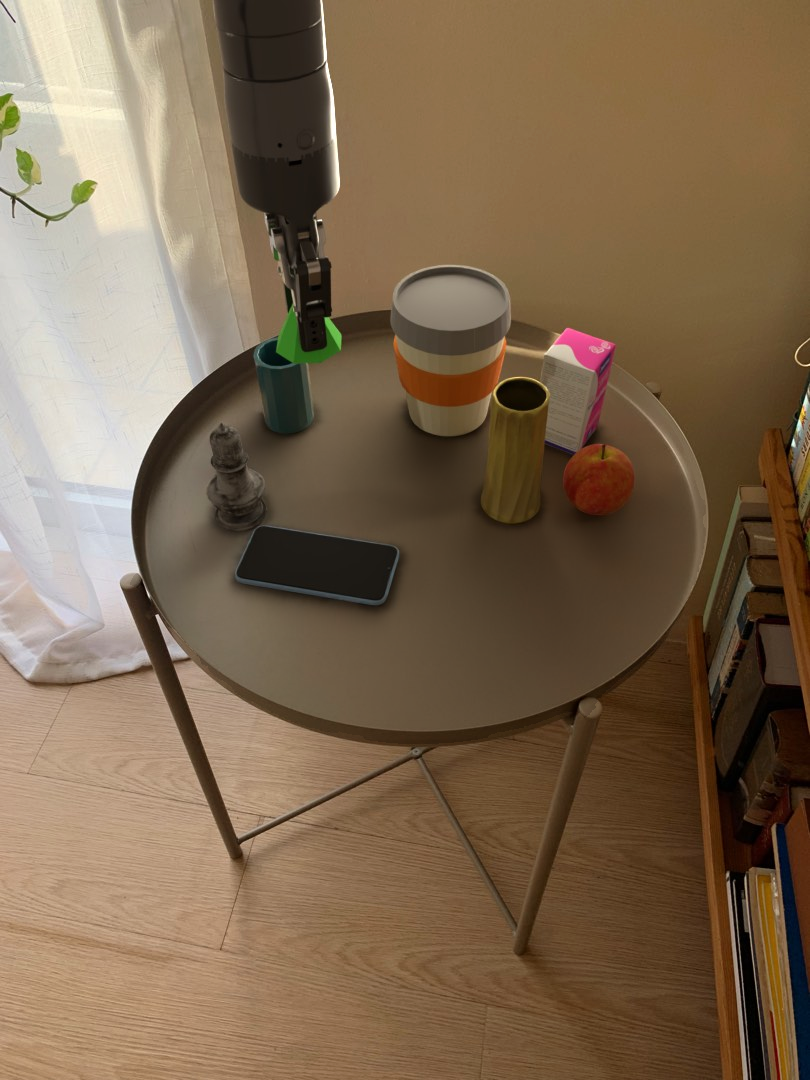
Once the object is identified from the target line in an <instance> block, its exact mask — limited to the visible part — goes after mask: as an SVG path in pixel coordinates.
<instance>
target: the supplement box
mask: <svg viewBox="0 0 810 1080" xmlns="http://www.w3.org/2000/svg"><path fill="white" fill-rule="evenodd" d="M616 348H617V345H616V344H615V343H614V342H611V341H610V342H609V341H608V340H603V339H601V338H599V337H595V336H592V335H589V334H587V333H583V332H581V331H578V330H576V329H572V328H571V327H567V328H565V330H564V331H563V332H562V333H561V334H560V335H559V336H558V338H557V339H556V340H555V341H554V343H553V344H552V345H551V346H550V347H549V349H548V350H547V351H546V352H545V353H544V355H543V360H542V366H541V374H540V379H539V382H540V383H542V384H543V385H544V386H545V387H546V388H547V389H548V391H549V393H550V400H549V406H548V416H547V423H546V433H545V443H544V445H547V446H549V447H551V448H552V447H553V448H555V449H557V450H560V451H562V452H565V453H568V454H570V455H572V456H574V454H575V453H576V452H578V451H579V450H580V449H582V448H584V447H585V444H586V443H587V442H588V440H589V439H590V437H591V436H592V435H593V433H594V432H596V430H597V429H598V426H599V424H600V419H601V414H602V410H603V405H604V400H605V396H606V391H607V387H608V382H609V377H610V374H611V370H612V364H613V361H614V356H615V353H616Z"/></svg>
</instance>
